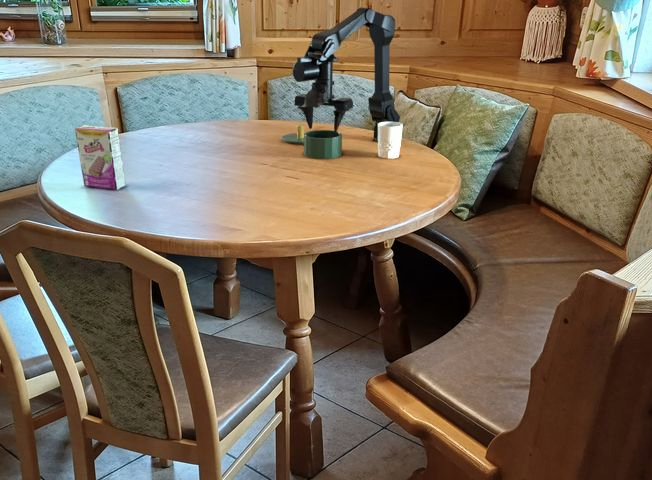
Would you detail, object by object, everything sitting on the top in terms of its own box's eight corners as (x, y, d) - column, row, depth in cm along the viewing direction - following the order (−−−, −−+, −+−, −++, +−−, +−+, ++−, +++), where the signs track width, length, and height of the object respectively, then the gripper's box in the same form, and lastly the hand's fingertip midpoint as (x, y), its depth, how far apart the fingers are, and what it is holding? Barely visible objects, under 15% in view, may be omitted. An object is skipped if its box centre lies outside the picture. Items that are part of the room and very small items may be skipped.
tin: (347, 152, 240) (348, 132, 237) (330, 160, 231) (330, 140, 228) (315, 148, 245) (315, 128, 242) (297, 156, 236) (297, 136, 233)
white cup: (373, 157, 234) (374, 125, 229) (380, 152, 240) (382, 120, 235) (396, 160, 231) (398, 127, 226) (403, 154, 237) (405, 122, 232)
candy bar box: (83, 187, 208) (73, 128, 199) (93, 182, 212) (83, 124, 204) (117, 190, 205) (108, 131, 196) (126, 186, 209) (118, 127, 200)
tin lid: (325, 138, 257) (326, 123, 254) (307, 146, 247) (307, 131, 244) (293, 134, 262) (293, 120, 259) (274, 142, 252) (274, 127, 250)
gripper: (284, 80, 224) (285, 132, 232) (338, 84, 216) (337, 138, 224) (302, 74, 232) (302, 125, 240) (354, 79, 224) (353, 131, 232)
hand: (322, 130), depth 234 cm, fingers open, 9 cm apart
